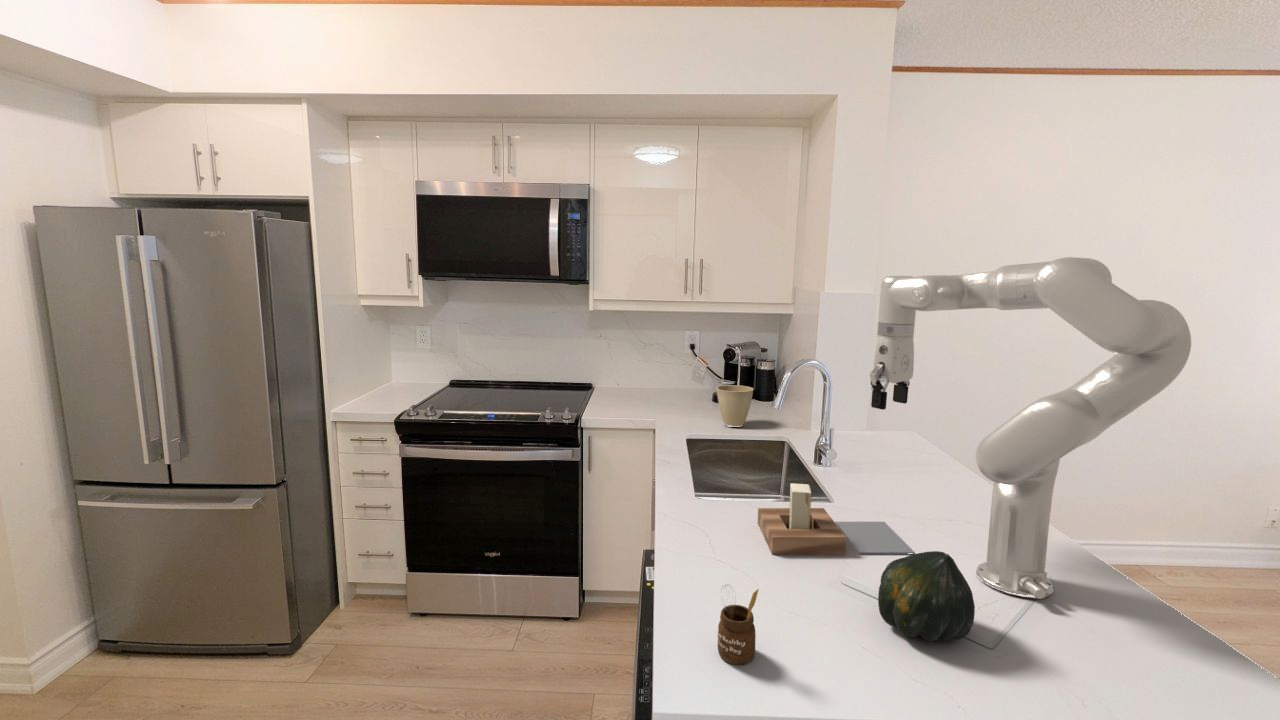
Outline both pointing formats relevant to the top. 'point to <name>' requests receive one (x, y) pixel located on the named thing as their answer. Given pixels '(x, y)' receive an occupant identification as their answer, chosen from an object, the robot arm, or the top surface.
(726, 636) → the utensil holder
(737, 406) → the plant pot
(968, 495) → the top surface
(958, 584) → the squash
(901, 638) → the top surface
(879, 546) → the slate mat
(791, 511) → the skincare box
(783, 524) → the pocket block
